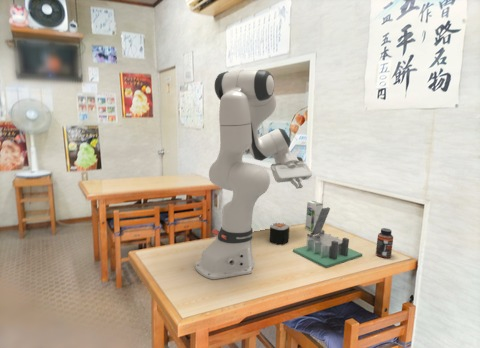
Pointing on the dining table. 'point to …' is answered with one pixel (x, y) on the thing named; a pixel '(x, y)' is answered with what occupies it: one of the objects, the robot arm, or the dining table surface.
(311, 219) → the syrup box
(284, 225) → the sushi
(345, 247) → the posts
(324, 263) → the circuit board
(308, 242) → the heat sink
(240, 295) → the dining table surface
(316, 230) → the steel strap
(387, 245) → the supplement bottle
